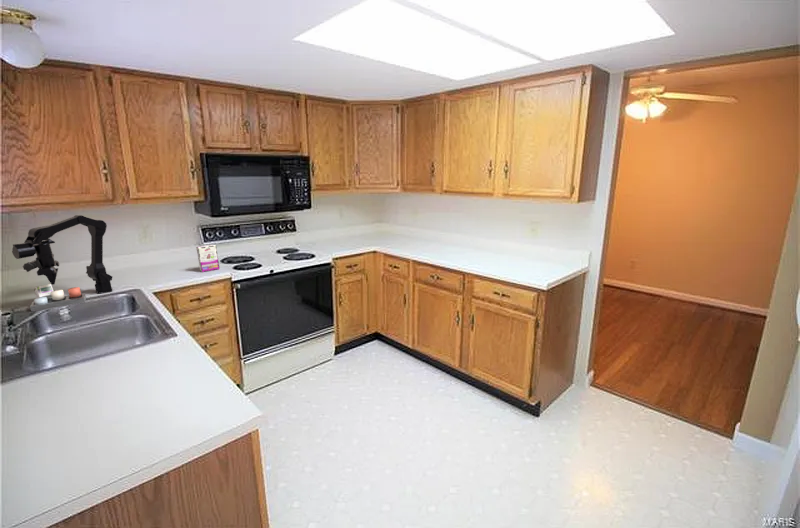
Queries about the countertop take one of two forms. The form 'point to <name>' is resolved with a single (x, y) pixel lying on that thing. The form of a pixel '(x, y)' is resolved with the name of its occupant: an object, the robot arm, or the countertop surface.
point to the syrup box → (43, 291)
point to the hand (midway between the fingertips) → (53, 284)
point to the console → (58, 302)
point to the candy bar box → (208, 258)
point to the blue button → (41, 300)
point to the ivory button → (57, 295)
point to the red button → (74, 292)
